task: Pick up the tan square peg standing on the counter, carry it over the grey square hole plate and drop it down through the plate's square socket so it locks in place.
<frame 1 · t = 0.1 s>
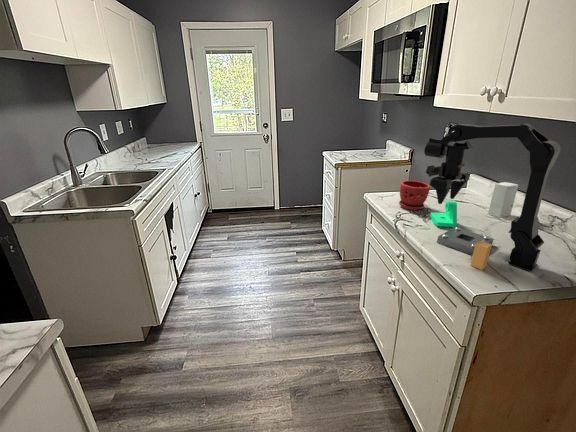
hand: (445, 201, 118), 15 cm above the worktop, tool pointing down, fingers open, 9 cm apart
camera mount: (441, 223, 136), on the worktop
grey square hole plate: (464, 243, 118), on the worktop
plant pot: (411, 207, 154), on the worktop
tan square peg: (478, 265, 103), on the worktop
skincare box: (498, 215, 145), on the worktop
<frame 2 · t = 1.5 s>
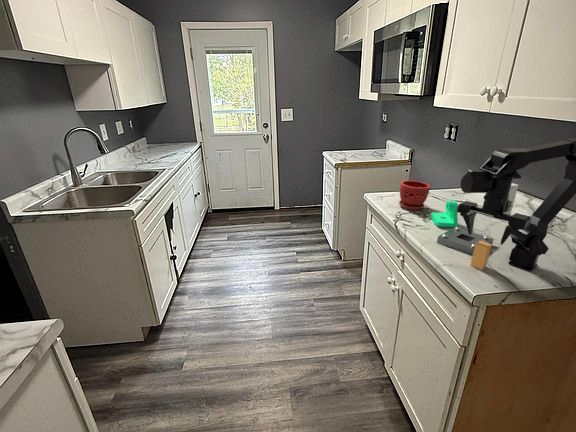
hand: (485, 239, 99), 10 cm above the worktop, tool pointing down, fingers open, 9 cm apart
nothing on the worktop moved.
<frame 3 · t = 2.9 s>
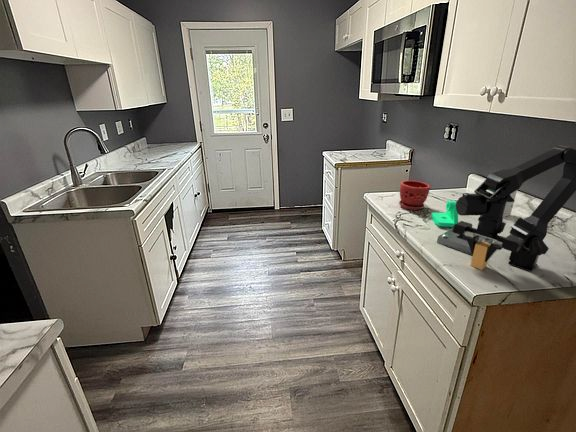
hand: (479, 259, 102), 3 cm above the worktop, tool pointing down, fingers closed on tan square peg, 3 cm apart
tan square peg: (478, 265, 103), on the worktop, touching gripper
everything else where it was.
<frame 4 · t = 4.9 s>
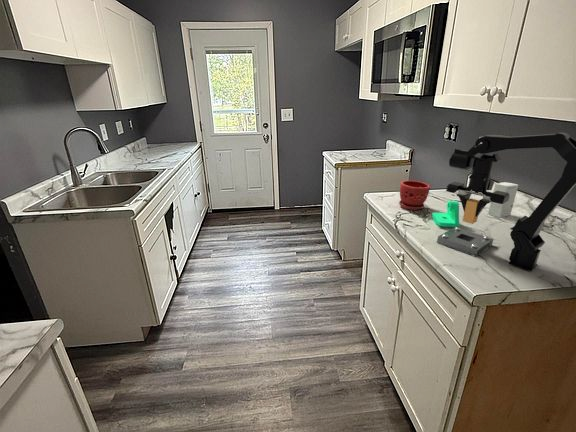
hand: (471, 214, 113), 12 cm above the worktop, tool pointing down, fingers closed on tan square peg, 3 cm apart
tan square peg: (469, 221, 114), point 9 cm above the worktop, touching gripper
everything else where it was.
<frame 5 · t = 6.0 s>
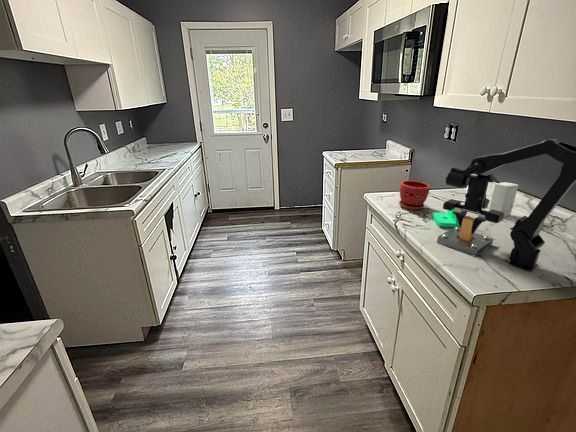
hand: (467, 232, 116), 5 cm above the worktop, tool pointing down, fingers closed on tan square peg, 3 cm apart
tan square peg: (465, 238, 117), point 2 cm above the worktop, touching gripper
everything else where it was.
when the fingers open (4 cm above the worktop, at t = 6.9 s): tan square peg drops 1 cm, resting in grey square hole plate.
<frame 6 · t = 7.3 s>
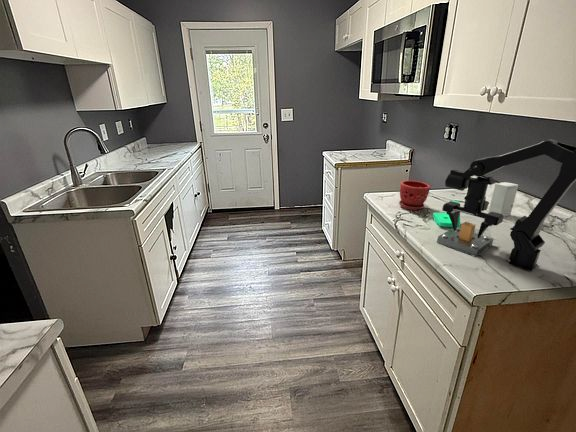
hand: (466, 234, 116), 4 cm above the worktop, tool pointing down, fingers open, 8 cm apart
tan square peg: (464, 243, 118), resting in grey square hole plate
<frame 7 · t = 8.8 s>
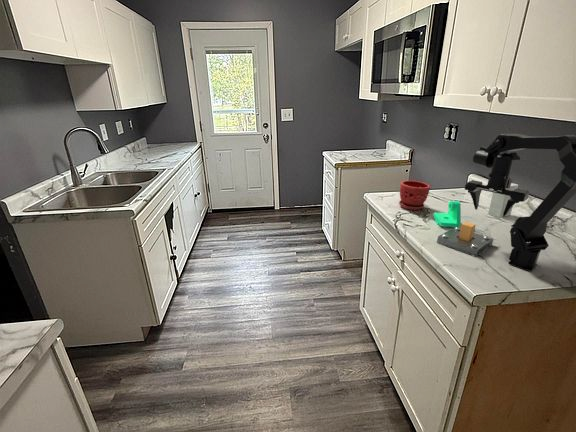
hand: (489, 212, 114), 12 cm above the worktop, tool pointing down, fingers open, 9 cm apart
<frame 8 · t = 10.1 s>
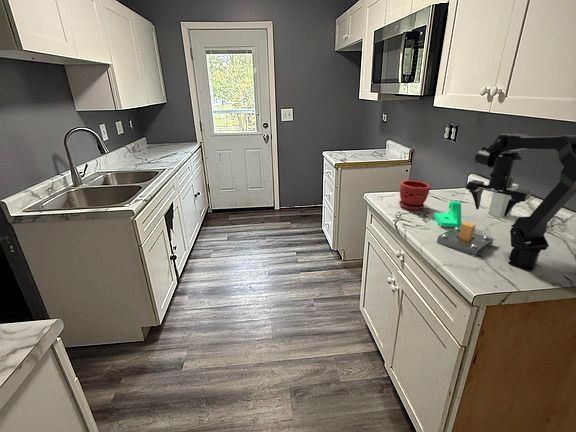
hand: (490, 212, 114), 12 cm above the worktop, tool pointing down, fingers open, 9 cm apart
at the end: tan square peg 0.1 cm off-centre on the grey square hole plate, point 0.0 cm above the grey square hole plate's base; tan square peg tilted 0°; the gripper is holding nothing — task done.
